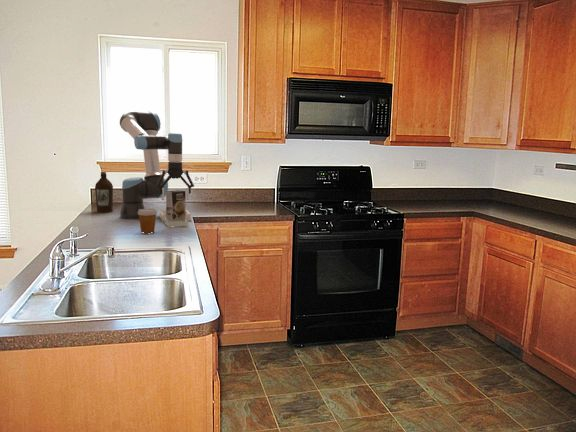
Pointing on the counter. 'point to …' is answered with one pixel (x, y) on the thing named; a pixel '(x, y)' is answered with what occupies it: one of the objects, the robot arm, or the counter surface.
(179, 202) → the coffee box
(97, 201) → the olive oil
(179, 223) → the tray
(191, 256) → the counter surface
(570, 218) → the counter surface
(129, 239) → the counter surface
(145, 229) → the glass of beer
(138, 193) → the robot arm
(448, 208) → the counter surface
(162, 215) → the plastic food container
